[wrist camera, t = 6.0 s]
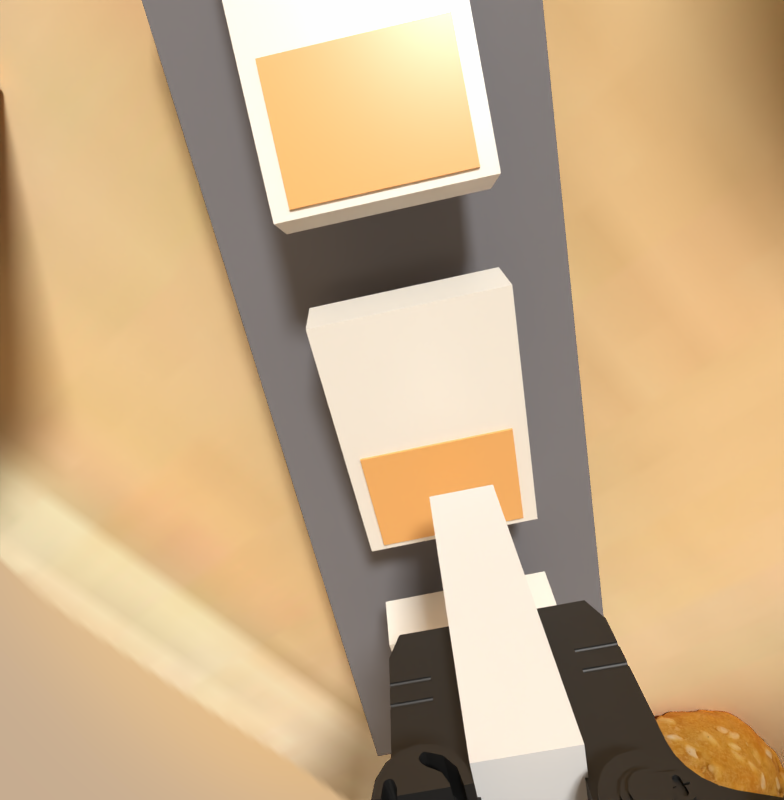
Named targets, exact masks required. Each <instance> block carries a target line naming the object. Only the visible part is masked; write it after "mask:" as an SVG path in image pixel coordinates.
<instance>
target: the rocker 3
mask: <svg viewBox="0 0 784 800" xmlns="http://www.w3.org/2000/svg"><path fill="white" fill-rule="evenodd" d="M525 577H526V580H527V583H528V586H529V589H530V591H531V594H532V597H533V600H534V603H535V606H536V608H537V609H538V608H543V607H549V606H554V605H557V604H556V601H555V599H554V596H553V593H552V590H551V587H550V585H549V582H548V579H547V576H546V573H545V571H543V572H538V573H533V574H528V575H525ZM386 612H387V623H388V635H389V645H390V648H391V651H393V648H394V646H395V644H396V642H397V639H398V637H399V635H403V634H408V633H414V632H420V631H425V630H431V629H436V628H442V627H447V626H449V624H448V617H447V611H446V604H445V597H444V591H440V592H435V593H429V594H424V595H419V596H414V597H409V598H403V599H398V600H393V601H388V602H386Z"/></svg>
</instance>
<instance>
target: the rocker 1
mask: <svg viewBox="0 0 784 800" xmlns="http://www.w3.org/2000/svg"><path fill="white" fill-rule="evenodd" d="M222 3H223V7H224V11H225V16H226V20H227V24H228V29H229V33H230V37H231V42H232V46H233V50H234V55H235V59H236V63H237V68H238V72H239V76H240V81H241V85H242V89H243V94H244V98H245V102H246V107H247V111H248V115H249V120H250V124H251V128H252V133H253V137H254V141H255V146H256V150H257V154H258V159H259V163H260V167H261V172H262V176H263V180H264V185H265V189H266V193H267V198H268V202H269V206H270V211H271V215H272V219H273V224H274V225H275V226H277V227H278V228H279V229H280V230H282V231H283V232H284V233H286V234H291V233H295V232H300V231H304V230H308V229H313V228H317V227H322V226H326V225H331V224H335V223H340V222H344V221H349V220H353V219H358V218H362V217H367V216H371V215H376V214H380V213H384V212H389V211H393V210H398V209H402V208H407V207H411V206H416V205H420V204H425V203H429V202H434V201H438V200H443V199H447V198H451V197H456V196H460V195H465V194H469V193H474V192H478V191H483V190H487V189H491V188H492V186H493V185H494V183H495V182H496V180H497V179H498V177H499V175H500V174H501V171H500V165H499V160H498V154H497V149H496V143H495V138H494V133H493V127H492V122H491V116H490V111H489V105H488V100H487V94H486V89H485V83H484V78H483V72H482V67H481V62H480V56H479V51H478V45H477V40H476V34H475V29H474V23H473V18H472V12H471V7H470V1H469V0H222Z"/></svg>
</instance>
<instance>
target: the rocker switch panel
mask: <svg viewBox="0 0 784 800" xmlns="http://www.w3.org/2000/svg"><path fill="white" fill-rule="evenodd" d="M469 1H470V7H471V12H472V18H473V23H474V29H475V34H476V40H477V45H478V51H479V56H480V62H481V67H482V72H483V78H484V83H485V89H486V94H487V100H488V105H489V111H490V116H491V122H492V127H493V133H494V138H495V143H496V149H497V154H498V160H499V165H500V171H501V174H500V175H499V177H498V179H497V180H496V182H495V183H494V185H493V186H492V188H491V189H487V190H483V191H478V192H474V193H469V194H465V195H460V196H456V197H451V198H447V199H443V200H438V201H434V202H429V203H425V204H420V205H416V206H411V207H407V208H402V209H398V210H393V211H389V212H384V213H380V214H376V215H371V216H367V217H362V218H358V219H353V220H349V221H344V222H340V223H335V224H331V225H326V226H322V227H317V228H313V229H308V230H304V231H300V232H295V233H291V234H286V233H284V232H283V231H282V230H280V229H279V228H278V227H277V226H275V225H274V224H273V219H272V215H271V211H270V206H269V202H268V198H267V193H266V189H265V185H264V180H263V176H262V172H261V167H260V163H259V159H258V154H257V150H256V146H255V141H254V137H253V133H252V128H251V124H250V120H249V115H248V111H247V107H246V102H245V98H244V94H243V89H242V85H241V81H240V76H239V72H238V68H237V63H236V59H235V55H234V50H233V46H232V42H231V37H230V33H229V29H228V24H227V20H226V16H225V11H224V7H223V3H222V0H142V3H143V6H144V9H145V12H146V16H147V19H148V22H149V25H150V28H151V32H152V35H153V38H154V41H155V44H156V48H157V51H158V54H159V57H160V60H161V64H162V67H163V70H164V73H165V76H166V80H167V83H168V86H169V89H170V92H171V96H172V99H173V102H174V105H175V108H176V112H177V115H178V118H179V121H180V124H181V128H182V131H183V134H184V137H185V140H186V143H187V147H188V150H189V153H190V156H191V159H192V163H193V166H194V169H195V172H196V175H197V179H198V182H199V185H200V188H201V191H202V195H203V198H204V201H205V204H206V207H207V211H208V214H209V217H210V220H211V223H212V227H213V230H214V233H215V236H216V239H217V243H218V246H219V249H220V252H221V255H222V259H223V262H224V265H225V268H226V271H227V275H228V278H229V281H230V284H231V287H232V291H233V294H234V297H235V300H236V303H237V307H238V310H239V313H240V316H241V319H242V323H243V326H244V329H245V332H246V335H247V339H248V342H249V345H250V348H251V351H252V355H253V358H254V361H255V364H256V367H257V371H258V374H259V377H260V380H261V383H262V387H263V390H264V393H265V396H266V399H267V403H268V406H269V409H270V412H271V415H272V419H273V422H274V425H275V428H276V431H277V435H278V438H279V441H280V444H281V447H282V451H283V454H284V457H285V460H286V463H287V467H288V470H289V473H290V476H291V479H292V482H293V486H294V489H295V492H296V495H297V498H298V502H299V505H300V508H301V511H302V514H303V518H304V521H305V524H306V527H307V530H308V534H309V537H310V540H311V543H312V546H313V550H314V553H315V556H316V559H317V562H318V566H319V569H320V572H321V575H322V578H323V582H324V585H325V588H326V591H327V594H328V598H329V601H330V604H331V607H332V610H333V614H334V617H335V620H336V623H337V626H338V630H339V633H340V636H341V639H342V642H343V646H344V649H345V652H346V655H347V658H348V662H349V665H350V668H351V671H352V674H353V678H354V681H355V684H356V687H357V690H358V694H359V697H360V700H361V703H362V706H363V710H364V713H365V716H366V719H367V722H368V726H369V729H370V732H371V735H372V738H373V742H374V745H375V748H376V751H377V754H378V756H381V755H387V754H391V719H390V709H391V706H390V674H389V658H390V655H391V653H392V651H391V648H390V645H389V635H388V623H387V612H386V602H388V601H393V600H398V599H403V598H409V597H414V596H419V595H424V594H429V593H435V592H440V591H443V584H442V578H441V571H440V564H439V558H438V551H437V544H436V539H433V540H427V541H422V542H417V543H412V544H407V545H402V546H397V547H392V548H387V549H382V550H377V551H372V550H371V547H370V543H369V540H368V537H367V533H366V530H365V527H364V523H363V520H362V517H361V513H360V510H359V507H358V503H357V500H356V496H355V493H354V490H353V486H352V483H351V480H350V476H349V473H348V470H347V466H346V463H345V460H344V456H343V453H342V450H341V446H340V443H339V440H338V436H337V433H336V429H335V426H334V423H333V419H332V416H331V413H330V409H329V406H328V403H327V399H326V396H325V393H324V389H323V386H322V383H321V379H320V376H319V372H318V369H317V366H316V362H315V359H314V356H313V352H312V349H311V346H310V342H309V339H308V336H307V332H306V325H307V319H308V314H309V308H313V307H317V306H322V305H327V304H331V303H336V302H340V301H345V300H350V299H354V298H359V297H363V296H368V295H373V294H377V293H382V292H386V291H391V290H396V289H400V288H405V287H409V286H414V285H419V284H423V283H428V282H432V281H437V280H442V279H446V278H451V277H455V276H460V275H465V274H469V273H474V272H478V271H483V270H488V269H492V268H497V267H499V268H500V269H501V271H502V272H503V273H504V275H505V276H506V277H507V279H508V280H509V281H510V283H511V284H512V287H513V296H514V305H515V315H516V324H517V333H518V342H519V352H520V361H521V370H522V379H523V389H524V398H525V407H526V416H527V426H528V435H529V444H530V454H531V463H532V472H533V481H534V491H535V500H536V509H537V518H538V519H534V520H529V521H524V522H519V523H514V524H509V525H507V526H508V529H509V532H510V535H511V537H512V540H513V543H514V546H515V549H516V552H517V554H518V557H519V560H520V563H521V566H522V569H523V572H524V574H525V575H528V574H533V573H538V572H543V571H545V573H546V576H547V579H548V582H549V585H550V587H551V590H552V593H553V596H554V599H555V601H556V604H557V605H560V604H565V603H571V602H576V601H582V600H585V601H586V602H587V603H588V604H590V605H591V606H592V607H593V608H594V609H595V610H597V611H598V612H599V613H600V614H601V615H602V616H603V608H602V598H601V588H600V578H599V567H598V557H597V547H596V537H595V527H594V517H593V507H592V497H591V486H590V476H589V466H588V456H587V446H586V436H585V426H584V416H583V406H582V395H581V385H580V375H579V365H578V355H577V345H576V335H575V325H574V314H573V304H572V294H571V284H570V274H569V264H568V254H567V244H566V234H565V223H564V213H563V203H562V193H561V183H560V173H559V163H558V153H557V142H556V132H555V122H554V112H553V102H552V92H551V82H550V72H549V62H548V51H547V41H546V31H545V21H544V11H543V1H542V0H469Z"/></svg>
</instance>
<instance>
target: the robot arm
mask: <svg viewBox="0 0 784 800" xmlns="http://www.w3.org/2000/svg"><path fill="white" fill-rule="evenodd" d="M429 498H430V505H431V511H432V518H433V525H434V531H435V538H436V544H437V551H438V558H439V564H440V571H441V578H442V584H443V591H444V597H445V604H446V611H447V617H448V624H449V626H447V627H442V628H436V629H431V630H425V631H420V632H414V633H408V634H403V635H399V637H398V639H397V642H396V644H395V646H394V648H393V651H392V653H391V655H390V658H389V674H390V706H391V709H390V719H391V759H390V760H389V761H387V762H386V763H385V765H384V767H383V768H382V770H381V771H380V773H379V775H378V776H377V778H376V780H375V784H374V789H373V794H372V799H371V800H784V796H783V797H777V796H770V795H764V794H758V793H752V792H746V791H740V790H735V789H731V788H727V787H723V786H720V785H717V784H715V783H713V782H711V781H709V780H706V779H704V778H702V777H701V776H699V775H698V774H696V773H695V772H694V771H692V770H691V769H689V768H688V767H687V766H686V765H685V764H684V763H683V762H682V761H681V760H680V759H679V758H678V757H677V756H676V755H675V754H674V753H673V751H672V749H671V748H670V746H669V745H668V743H667V742H666V740H665V738H664V736H663V734H662V732H661V730H660V728H659V726H658V723H657V721H656V719H655V717H654V715H653V713H652V711H651V709H650V707H649V705H648V703H647V701H646V699H645V697H644V695H643V693H642V691H641V689H640V687H639V685H638V683H637V681H636V679H635V677H634V675H633V673H632V671H631V669H630V667H629V666H628V665H627V661H626V659H625V657H624V655H623V653H622V651H621V649H620V647H619V646H618V644H617V641H616V639H615V636H614V634H613V632H612V630H611V628H610V626H609V624H608V622H607V620H606V618H605V617H604V616H602V615H601V614H600V613H599V612H598V611H597V610H595V609H594V608H593V607H592V606H591V605H590V604H588V603H587V602H586V601H585V600H582V601H576V602H571V603H565V604H560V605H554V606H549V607H543V608H538V609H537V608H536V606H535V603H534V600H533V597H532V594H531V591H530V589H529V586H528V583H527V580H526V577H525V574H524V572H523V569H522V566H521V563H520V560H519V557H518V554H517V552H516V549H515V546H514V543H513V540H512V537H511V535H510V532H509V529H508V526H507V523H506V520H505V518H504V515H503V512H502V509H501V506H500V503H499V500H498V498H497V495H496V492H495V489H494V486H493V485H487V486H482V487H477V488H472V489H467V490H462V491H456V492H451V493H446V494H441V495H436V496H431V497H429Z"/></svg>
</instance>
